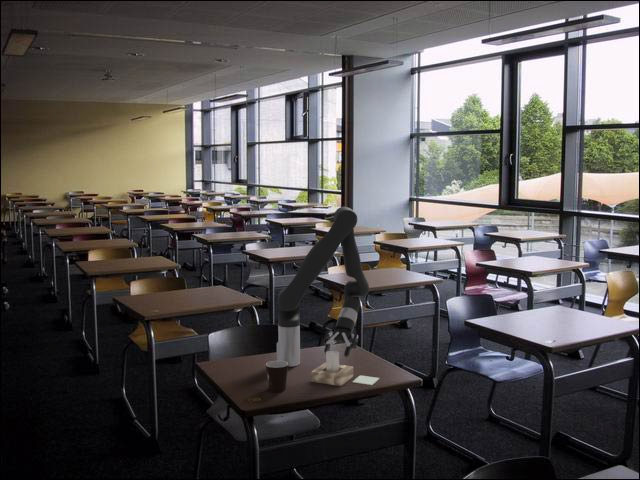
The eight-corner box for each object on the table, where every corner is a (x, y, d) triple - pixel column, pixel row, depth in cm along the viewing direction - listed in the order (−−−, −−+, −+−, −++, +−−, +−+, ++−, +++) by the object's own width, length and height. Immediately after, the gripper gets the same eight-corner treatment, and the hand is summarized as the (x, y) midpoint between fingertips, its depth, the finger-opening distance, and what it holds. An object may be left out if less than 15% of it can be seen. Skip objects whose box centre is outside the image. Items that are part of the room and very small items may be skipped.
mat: (352, 382, 254) (352, 381, 254) (360, 375, 262) (360, 375, 262) (372, 385, 251) (372, 384, 251) (379, 378, 258) (379, 378, 258)
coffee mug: (285, 393, 242) (285, 368, 241) (263, 392, 244) (262, 366, 243) (292, 383, 254) (292, 358, 252) (271, 382, 255) (271, 357, 254)
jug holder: (311, 381, 255) (311, 371, 255) (324, 371, 267) (324, 362, 266) (340, 386, 250) (340, 376, 250) (353, 376, 262) (353, 366, 261)
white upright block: (321, 381, 255) (321, 354, 254) (329, 376, 262) (329, 349, 261) (333, 383, 253) (333, 356, 252) (341, 377, 260) (341, 351, 258)
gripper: (328, 314, 269) (317, 348, 260) (360, 317, 263) (349, 352, 254) (333, 324, 275) (322, 357, 266) (364, 327, 269) (354, 361, 260)
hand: (335, 354), depth 260 cm, fingers open, 8 cm apart
